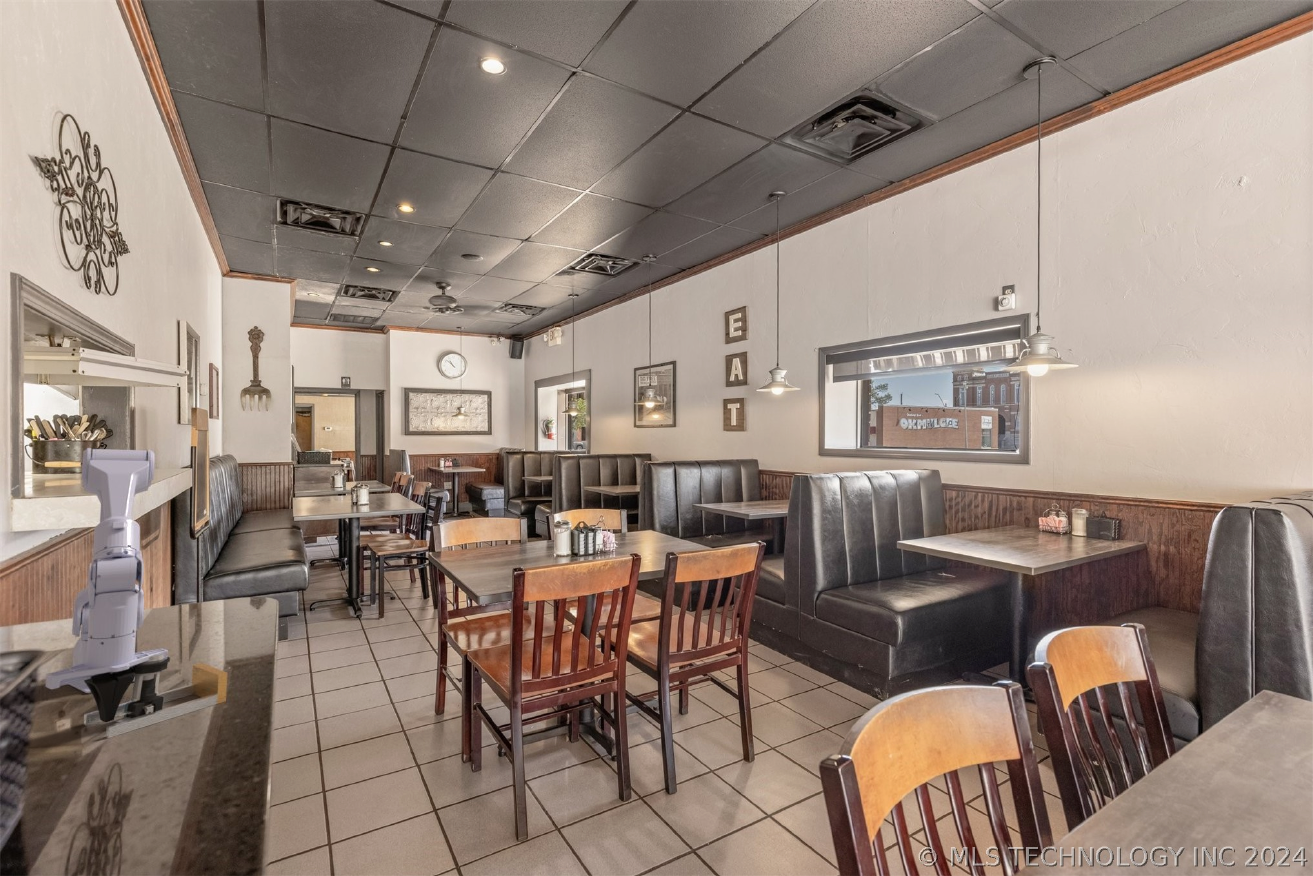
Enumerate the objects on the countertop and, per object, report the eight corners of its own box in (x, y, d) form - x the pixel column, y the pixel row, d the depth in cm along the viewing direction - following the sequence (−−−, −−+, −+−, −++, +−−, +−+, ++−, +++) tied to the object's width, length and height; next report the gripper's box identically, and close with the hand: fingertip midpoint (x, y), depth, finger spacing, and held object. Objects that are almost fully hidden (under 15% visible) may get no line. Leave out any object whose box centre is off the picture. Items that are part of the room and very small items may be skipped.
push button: (130, 727, 95) (139, 662, 96) (102, 722, 96) (112, 658, 97) (170, 713, 102) (179, 652, 103) (144, 708, 103) (153, 648, 104)
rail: (83, 724, 97) (85, 692, 97) (200, 690, 111) (201, 663, 111) (108, 738, 93) (110, 705, 93) (225, 701, 107) (227, 672, 107)
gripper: (62, 650, 88) (56, 745, 87) (178, 627, 101) (173, 709, 100) (42, 641, 91) (36, 732, 91) (157, 620, 104) (152, 699, 104)
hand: (107, 720), depth 96 cm, fingers closed
